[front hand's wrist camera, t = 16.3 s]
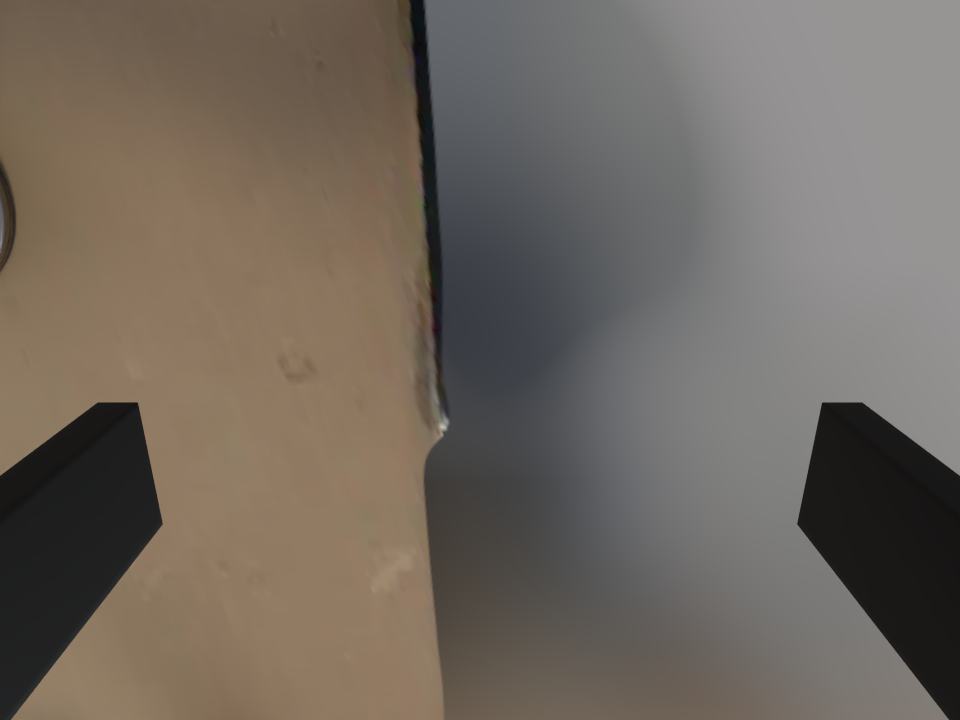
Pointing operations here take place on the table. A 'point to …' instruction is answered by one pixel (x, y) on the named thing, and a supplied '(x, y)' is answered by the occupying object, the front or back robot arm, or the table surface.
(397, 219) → the table surface
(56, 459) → the front robot arm
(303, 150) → the table surface
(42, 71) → the table surface
